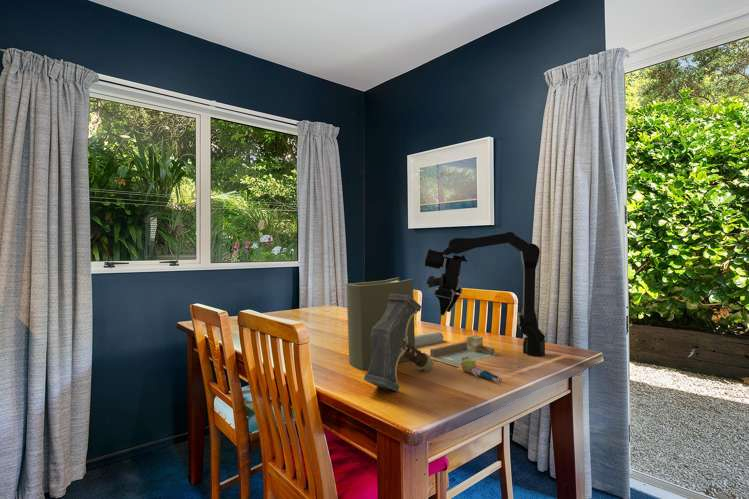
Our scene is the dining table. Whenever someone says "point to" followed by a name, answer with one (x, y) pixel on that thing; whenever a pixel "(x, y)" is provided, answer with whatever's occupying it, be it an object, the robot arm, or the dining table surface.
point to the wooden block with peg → (477, 344)
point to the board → (457, 354)
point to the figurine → (477, 370)
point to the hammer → (394, 343)
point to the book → (371, 315)
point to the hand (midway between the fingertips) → (445, 313)
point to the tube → (428, 339)
